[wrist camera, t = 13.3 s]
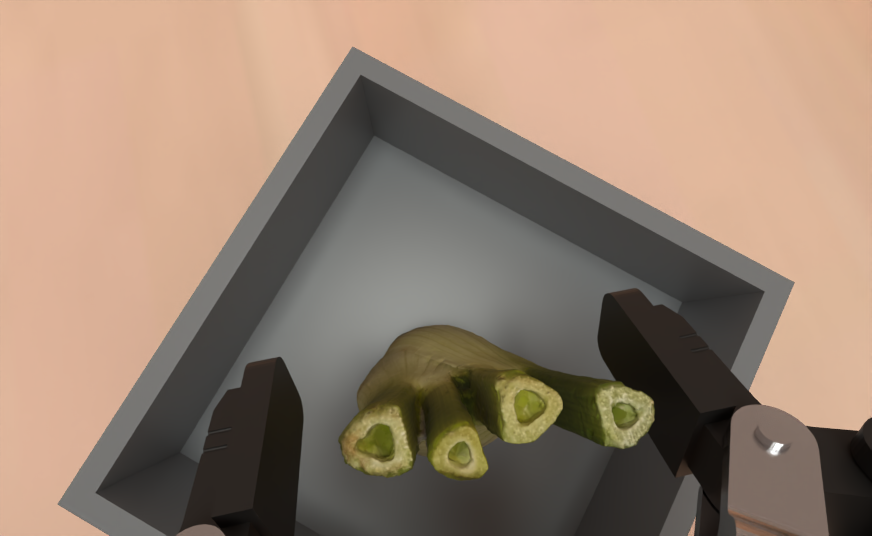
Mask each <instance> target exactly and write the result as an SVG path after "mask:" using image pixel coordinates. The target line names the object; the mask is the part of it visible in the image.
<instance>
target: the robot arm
mask: <svg viewBox="0 0 872 536" xmlns="http://www.w3.org/2000/svg"><path fill="white" fill-rule="evenodd" d="M597 341H598V347H599V351H600V354H601V356H602V359H603V361H604V362H605V364H606V366H607V367H608V369H609V370H610V372H611V374H612V375H613V377H614V379H615V380H616V381H620V382H622V383H623V384H624V385H625V386H626V387H629V388H631V389H633V390H637V391H642V392H644V393H645V394H647V395H648V396H650V397H651V398H652V399H653V401H654V409H655V417H654V418H655V420H654V422H653V424H652V425H651V427H650V429H649V431H648V434H649V436H650V438H651V439H652V441H653V443H654V444H655V446H656V447H657V449H658V451H659V452H660V454H661V456H662V457H663V459H664V461H665V462H666V464H667V465H668V467H669V469H670V470H671V472H672V474H673V475H674V477H675V478H677V477H681V476H685V475H690V474H693V475H694V476H695V478H696V479H697V481H698V482H699V484H700V487H699V491H698V499H697V510H696V521H695V533H694V536H872V418H870V419H868V420H867V421H866V422H865V423H864V425H863V426H862V427H861V429H860V430H859V431H854V430H842V429H830V428H819V427H810V426H805V425H804V424H803V423H802V422H800V421H799V420H798V419H796V418H795V417H793V416H792V415H790V414H788V413H786V412H784V411H782V410H780V409H777V408H774V407H770V406H766V405H761V404H760V403H759V402H758V401H757V400H756V399H755V398H754V397H753V395H752V394H751V393H750V392H749V391H748V390H747V389H746V388H745V386H744V385H743V384H742V383H741V382H740V381H739V380H738V379H737V377H736V376H735V375H734V374H733V373H732V372H731V371H730V370H729V368H728V367H727V366H726V365H725V364H724V363H723V362H722V360H721V359H720V358H719V357H718V356H717V355H716V354H715V353H714V351H713V350H712V349H711V350H710V349H709V346H708V345H707V344H706V342H705V341H704V340H703V339H702V338H701V337H700V336H697V332H696V331H695V330H694V329H693V328H692V327H691V326H690V324H689V323H688V322H687V321H686V320H685V319H684V318H683V317H682V316H681V315H679V314H678V313H676V312H674V311H673V310H671V309H669V308H668V307H666V306H664V305H663V304H660V305H655V306H653V305H652V303H651V302H650V301H649V300H648V299H647V297H646V296H645V295H644V294H643V293H642V292H641V291H640V290H639V289H637V288H632V289H627V290H622V291H617V292H612V293H607V294H605V295H604V297H603V301H602V307H601V314H600V321H599V328H598V336H597ZM303 422H304V414H303V405H302V401H301V397H300V395H299V392H298V390H297V388H296V386H295V384H294V382H293V379H292V377H291V375H290V373H289V371H288V369H287V366H286V364H285V362H284V360H283V359H282V358H281V357H276V358H271V359H265V360H260V361H255V362H250V363H248V364H247V365H246V367H245V370H244V374H243V378H242V383H241V387H239V388H234V389H229V390H227V391H226V393H225V394H224V396H223V397H222V399H221V400H220V401H219V403H218V404H217V406H216V407H215V409H214V410H213V414H212V417H211V421H210V425H209V428H208V436H206V439H205V443H204V447H203V454H201V458H200V461H199V465H198V468H197V472H196V476H195V479H194V483H193V487H192V490H191V494H190V498H189V501H188V505H187V509H186V512H185V516H184V520H183V523H182V526H181V528H180V531H179V533H178V534H177V535H176V536H294V533H295V520H296V508H297V496H298V484H299V471H300V459H301V447H302V435H303Z"/></svg>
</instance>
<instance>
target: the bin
mask: <svg viewBox="0 0 872 536" xmlns="http://www.w3.org/2000/svg"><path fill="white" fill-rule="evenodd" d="M794 283H795V282H793V281H791V280H789V279H787V278H785V277H783V276H781V275H780V274H778V273H776V272H774V271H772V270H770V269H768V268H766V267H765V266H763V265H761V264H759V263H757V262H755V261H753V260H751V259H750V258H748V257H746V256H744V255H742V254H740V253H738V252H736V251H735V250H733V249H731V248H729V247H727V246H725V245H723V244H721V243H720V242H718V241H716V240H714V239H712V238H710V237H708V236H706V235H705V234H703V233H701V232H699V231H697V230H695V229H693V228H691V227H690V226H688V225H686V224H684V223H682V222H680V221H678V220H676V219H675V218H673V217H671V216H669V215H667V214H665V213H663V212H662V211H660V210H658V209H656V208H654V207H652V206H650V205H648V204H647V203H645V202H643V201H641V200H639V199H637V198H635V197H633V196H632V195H630V194H628V193H626V192H624V191H622V190H620V189H618V188H617V187H615V186H613V185H611V184H609V183H607V182H605V181H603V180H602V179H600V178H598V177H596V176H594V175H592V174H590V173H588V172H587V171H585V170H583V169H581V168H579V167H577V166H575V165H573V164H572V163H570V162H568V161H566V160H564V159H562V158H560V157H558V156H557V155H555V154H553V153H551V152H549V151H547V150H545V149H543V148H542V147H540V146H538V145H536V144H534V143H532V142H530V141H529V140H527V139H525V138H523V137H521V136H519V135H517V134H515V133H514V132H512V131H510V130H508V129H506V128H504V127H502V126H500V125H499V124H497V123H495V122H493V121H491V120H489V119H487V118H485V117H484V116H482V115H480V114H478V113H476V112H474V111H472V110H470V109H469V108H467V107H465V106H463V105H461V104H459V103H457V102H455V101H454V100H452V99H450V98H448V97H446V96H444V95H442V94H440V93H439V92H437V91H435V90H433V89H431V88H429V87H427V86H425V85H424V84H422V83H420V82H418V81H416V80H414V79H412V78H410V77H409V76H407V75H405V74H403V73H401V72H399V71H397V70H396V69H394V68H392V67H390V66H388V65H386V64H384V63H382V62H381V61H379V60H377V59H375V58H373V57H371V56H369V55H367V54H366V53H364V52H362V51H360V50H358V49H356V48H354V47H352V48H351V50H350V51H349V53H348V54H347V56H346V58H345V59H344V61H343V62H342V64H341V65H340V67H339V68H338V70H337V72H336V73H335V75H334V76H333V78H332V79H331V81H330V82H329V84H328V85H327V87H326V89H325V90H324V92H323V93H322V95H321V96H320V98H319V99H318V101H317V103H316V104H315V106H314V107H313V109H312V110H311V112H310V113H309V115H308V117H307V118H306V120H305V121H304V123H303V124H302V126H301V127H300V129H299V130H298V132H297V134H296V135H295V137H294V138H293V140H292V141H291V143H290V144H289V146H288V148H287V149H286V151H285V152H284V154H283V155H282V157H281V158H280V160H279V162H278V163H277V165H276V166H275V168H274V169H273V171H272V172H271V174H270V175H269V177H268V179H267V180H266V182H265V183H264V185H263V186H262V188H261V189H260V191H259V193H258V194H257V196H256V197H255V199H254V200H253V202H252V203H251V205H250V206H249V208H248V210H247V211H246V213H245V214H244V216H243V217H242V219H241V220H240V222H239V224H238V225H237V227H236V228H235V230H234V231H233V233H232V234H231V236H230V238H229V239H228V241H227V242H226V244H225V245H224V247H223V248H222V250H221V251H220V253H219V255H218V256H217V258H216V259H215V261H214V262H213V264H212V265H211V267H210V269H209V270H208V272H207V273H206V275H205V276H204V278H203V279H202V281H201V283H200V284H199V286H198V287H197V289H196V290H195V292H194V293H193V295H192V296H191V298H190V300H189V301H188V303H187V304H186V306H185V307H184V309H183V310H182V312H181V314H180V315H179V317H178V318H177V320H176V321H175V323H174V324H173V326H172V327H171V329H170V331H169V332H168V334H167V335H166V337H165V338H164V340H163V341H162V343H161V345H160V346H159V348H158V349H157V351H156V352H155V354H154V355H153V357H152V359H151V360H150V362H149V363H148V365H147V366H146V368H145V369H144V371H143V372H142V374H141V376H140V377H139V379H138V380H137V382H136V383H135V385H134V386H133V388H132V390H131V391H130V393H129V394H128V396H127V397H126V399H125V400H124V402H123V404H122V405H121V407H120V408H119V410H118V411H117V413H116V414H115V416H114V417H113V419H112V421H111V422H110V424H109V425H108V427H107V428H106V430H105V431H104V433H103V435H102V436H101V438H100V439H99V441H98V442H97V444H96V445H95V447H94V448H93V450H92V452H91V453H90V455H89V456H88V458H87V459H86V461H85V462H84V464H83V466H82V467H81V469H80V470H79V472H78V473H77V475H76V476H75V478H74V480H73V481H72V483H71V484H70V486H69V487H68V489H67V490H66V492H65V493H64V495H63V497H62V498H61V500H60V501H59V503H58V505H59V506H61V507H63V508H64V509H66V510H68V511H69V512H71V513H73V514H74V515H76V516H78V517H79V518H81V519H83V520H84V521H86V522H88V523H89V524H91V525H93V526H94V527H96V528H98V529H99V530H101V531H103V532H104V533H106V534H108V535H109V536H176V535H177V534H178V533H179V531H180V528H181V526H182V523H183V520H184V516H185V512H186V509H187V505H188V501H189V498H190V494H191V490H192V487H193V483H194V479H195V476H196V472H197V468H198V465H199V461H200V458H201V454H203V447H204V443H205V439H206V436H208V428H209V425H210V421H211V417H212V414H213V410H214V409H215V407H216V406H217V404H218V403H219V401H220V400H221V399H222V397H223V396H224V394H225V393H226V391H227V390H229V389H234V388H239V387H241V383H242V378H243V374H244V370H245V367H246V365H247V364H248V363H250V362H255V361H260V360H265V359H271V358H276V357H281V358H282V359H283V360H284V362H285V364H286V366H287V369H288V371H289V373H290V375H291V377H292V379H293V382H294V384H295V386H296V388H297V390H298V392H299V395H300V397H301V401H302V405H303V414H304V422H303V435H302V447H301V459H300V471H299V484H298V496H297V508H296V520H295V533H294V536H687V535H688V533H689V531H690V528H691V526H692V524H693V521H694V519H695V517H696V510H697V499H698V491H699V487H700V484H699V482H698V481H697V479H696V478H695V476H694V475H693V474H690V475H685V476H681V477H677V478H675V477H674V475H673V474H672V472H671V470H670V469H669V467H668V465H667V464H666V462H665V461H664V459H663V457H662V456H661V454H660V452H659V451H658V449H657V447H656V446H655V444H654V443H653V441H652V439H651V438H650V436H649V434H648V433H647V434H646V435H645V436H643V437H641V438H640V439H639V441H638V443H637V445H635V446H632V447H630V448H625V449H619V448H615V447H605V446H601V445H600V444H596V443H595V442H593V441H591V440H589V439H586V438H584V437H581V436H579V435H577V434H575V433H572V432H570V431H567V430H564V429H562V428H560V427H558V426H556V425H553V424H552V425H551V426H550V427H549V428H548V429H547V430H546V431H545V432H544V433H543V434H542V435H541V436H540V437H539V438H538V439H537V440H536V441H534V442H531V443H524V444H511V443H507V442H505V441H503V440H501V439H500V438H499V437H498V438H497V439H495V440H494V441H493V442H491V443H489V444H488V445H486V446H484V447H482V448H483V452H484V454H485V457H486V459H487V462H488V466H489V468H488V470H487V471H486V473H485V474H484V475H483V476H482V477H481V478H479V479H474V480H464V481H459V480H455V479H450V478H447V477H446V476H444V475H442V474H440V473H438V472H437V471H436V470H435V469H434V467H433V465H431V462H429V461H428V458H427V457H425V456H421V455H418V454H417V455H416V461H415V463H414V466H413V469H412V470H409V471H408V472H406V473H404V474H402V475H400V476H395V477H390V478H386V477H383V476H370V475H366V474H364V473H363V472H361V471H358V470H356V469H353V468H352V467H351V466H349V465H348V464H345V462H344V457H343V456H342V451H341V448H340V443H339V442H338V439H339V436H340V435H341V433H342V432H343V430H344V429H345V428H346V426H347V425H348V424H349V423H350V421H351V420H352V419H353V418H354V417H355V416H356V415H357V414H358V413H359V408H358V404H357V391H358V389H359V387H360V385H361V384H362V382H363V381H364V380H365V378H366V376H367V375H368V373H369V372H370V371H371V369H372V368H373V367H374V366H375V365H376V364H377V363H378V362H379V360H380V359H381V358H383V356H384V355H385V353H386V352H387V350H388V348H389V347H390V345H391V344H392V343H393V342H394V340H395V339H396V338H397V337H398V336H400V335H401V334H403V333H406V332H409V331H411V330H412V329H415V328H419V327H424V326H432V325H450V326H454V327H458V328H461V329H464V330H467V331H470V332H473V333H475V334H476V335H478V336H481V337H483V338H485V339H486V340H487V341H489V342H490V343H492V344H494V345H496V346H497V347H499V348H501V349H503V350H505V351H508V352H511V353H513V354H515V355H518V356H520V357H522V358H525V359H527V360H529V361H532V362H533V363H535V364H537V365H539V366H542V367H544V368H547V369H550V370H554V371H560V372H563V373H567V374H572V375H577V376H587V377H592V378H597V379H606V380H612V381H616V380H615V379H614V377H613V375H612V374H611V372H610V370H609V369H608V367H607V366H606V364H605V362H604V361H603V359H602V356H601V354H600V351H599V347H598V341H597V336H598V328H599V321H600V314H601V307H602V301H603V297H604V295H605V294H607V293H612V292H617V291H622V290H627V289H632V288H637V289H639V290H640V291H641V292H642V293H643V294H644V295H645V296H646V297H647V299H648V300H649V301H650V302H651V303H652V305H653V306H655V305H660V304H663V305H664V306H666V307H668V308H669V309H671V310H673V311H674V312H676V313H678V314H679V315H681V316H682V317H683V318H684V319H685V320H686V321H687V322H688V323H689V324H690V326H691V327H692V328H693V329H694V330H695V331H696V332H697V336H700V337H701V338H702V339H703V340H704V341H705V342H706V344H707V345H708V346H709V349H710V350H711V349H712V350H713V351H714V353H715V354H716V355H717V356H718V357H719V358H720V359H721V360H722V362H723V363H724V364H725V365H726V366H727V367H728V368H729V370H730V371H731V372H732V373H733V374H734V375H735V376H736V377H737V379H738V380H739V381H740V382H741V383H742V384H743V385H744V386H745V388H746V389H747V390H748V391H749V389H750V387H751V384H752V382H753V380H754V377H755V375H756V372H757V370H758V368H759V365H760V363H761V361H762V358H763V356H764V354H765V351H766V349H767V346H768V344H769V342H770V339H771V337H772V335H773V332H774V330H775V328H776V325H777V323H778V320H779V318H780V316H781V313H782V311H783V309H784V306H785V304H786V302H787V299H788V297H789V295H790V292H791V290H792V287H793V285H794Z"/></svg>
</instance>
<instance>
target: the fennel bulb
mask: <svg viewBox="0 0 872 536" xmlns="http://www.w3.org/2000/svg"><path fill="white" fill-rule="evenodd" d="M357 404H358V408H359V413H358V414H357V415H356V416H355V417H354V418H353V419H352V420H351V421H350V423H349V424H348V425H347V426H346V428H345V429H344V430H343V432H342V433H341V435H340V436H339V439H338V442H339V443H340V448H341V451H342V456H343V457H344V462H345V464H348V465H349V466H351V467H352V468H353V469H356V470H358V471H361V472H363V473H364V474H366V475H370V476H383V477H386V478H390V477H395V476H400V475H402V474H404V473H406V472H408V471H409V470H412V469H413V466H414V463H415V461H416V455H417V454H418V455H421V456H425V457H427V458H428V461H429V462H431V465H433V467H434V469H435V470H436V471H437V472H438V473H440V474H442V475H444V476H446V477H447V478H450V479H455V480H459V481H464V480H474V479H479V478H481V477H482V476H483V475H484V474H485V473H486V471H487V470H488V468H489V466H488V462H487V459H486V457H485V454H484V452H483V448H482V447H484V446H486V445H488V444H489V443H491V442H493V441H494V440H495V439H497V438H498V437H499V438H500V439H501V440H503V441H505V442H507V443H511V444H524V443H531V442H534V441H536V440H537V439H538V438H539V437H540V436H541V435H542V434H543V433H544V432H545V431H546V430H547V429H548V428H549V427H550V426H551V425H552V424H553V425H556V426H558V427H560V428H562V429H564V430H567V431H570V432H572V433H575V434H577V435H579V436H581V437H584V438H586V439H589V440H591V441H593V442H595V443H596V444H600V445H601V446H605V447H615V448H619V449H625V448H630V447H632V446H635V445H637V443H638V441H639V439H640V438H641V437H643V436H645V435H646V434H647V433H648V431H649V429H650V427H651V425H652V424H653V422H654V420H655V418H654V417H655V409H654V401H653V399H652V398H651V397H650V396H648V395H647V394H645V393H644V392H642V391H637V390H633V389H631V388H629V387H626V386H625V385H624V384H623V383H622V382H620V381H612V380H606V379H597V378H592V377H587V376H577V375H572V374H567V373H563V372H560V371H554V370H550V369H547V368H544V367H542V366H539V365H537V364H535V363H533V362H532V361H529V360H527V359H525V358H522V357H520V356H518V355H515V354H513V353H511V352H508V351H505V350H503V349H501V348H499V347H497V346H496V345H494V344H492V343H490V342H489V341H487V340H486V339H485V338H483V337H481V336H478V335H476V334H475V333H473V332H470V331H467V330H464V329H461V328H458V327H454V326H450V325H432V326H424V327H419V328H415V329H412V330H411V331H409V332H406V333H403V334H401V335H400V336H398V337H397V338H396V339H395V340H394V342H393V343H392V344H391V345H390V347H389V348H388V350H387V352H386V353H385V355H384V356H383V358H381V359H380V360H379V362H378V363H377V364H376V365H375V366H374V367H373V368H372V369H371V371H370V372H369V373H368V375H367V376H366V378H365V380H364V381H363V382H362V384H361V385H360V387H359V389H358V391H357Z"/></svg>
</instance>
